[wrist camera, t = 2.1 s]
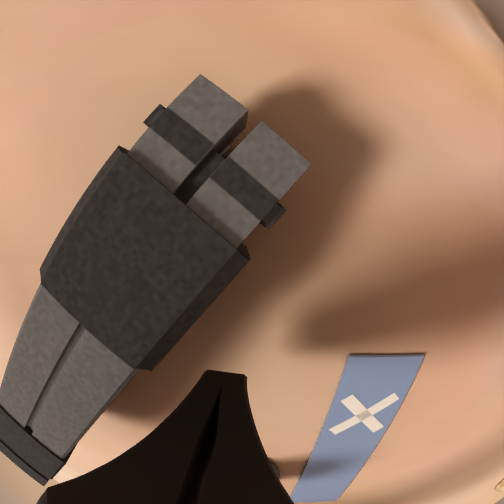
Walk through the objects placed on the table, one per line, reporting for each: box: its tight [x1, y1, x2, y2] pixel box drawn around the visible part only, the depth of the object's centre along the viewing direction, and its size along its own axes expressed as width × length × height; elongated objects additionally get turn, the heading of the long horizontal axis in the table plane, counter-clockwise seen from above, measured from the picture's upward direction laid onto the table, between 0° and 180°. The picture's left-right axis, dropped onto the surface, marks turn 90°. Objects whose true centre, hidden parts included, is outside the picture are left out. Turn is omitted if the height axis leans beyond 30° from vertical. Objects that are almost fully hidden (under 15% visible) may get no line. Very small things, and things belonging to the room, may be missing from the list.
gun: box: [0, 74, 311, 486], centre depth 11 cm, size 4×20×10 cm, turn 139°
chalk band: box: [290, 354, 424, 502], centre depth 14 cm, size 16×4×1 cm, turn 175°
